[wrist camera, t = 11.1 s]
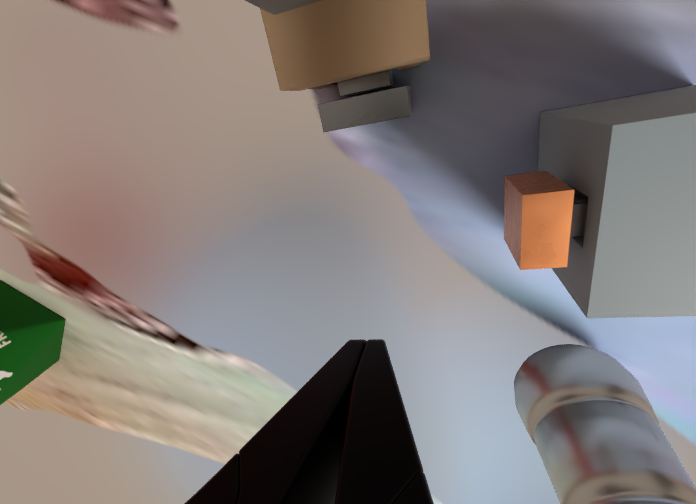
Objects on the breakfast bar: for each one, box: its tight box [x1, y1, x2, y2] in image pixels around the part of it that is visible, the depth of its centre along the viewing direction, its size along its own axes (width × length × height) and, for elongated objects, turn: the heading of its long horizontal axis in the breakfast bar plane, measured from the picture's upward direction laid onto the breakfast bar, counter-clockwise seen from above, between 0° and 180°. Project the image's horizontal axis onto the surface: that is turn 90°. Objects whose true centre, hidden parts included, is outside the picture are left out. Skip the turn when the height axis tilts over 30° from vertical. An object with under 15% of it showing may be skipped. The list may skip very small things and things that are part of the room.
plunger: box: [504, 171, 589, 270], centre depth 12 cm, size 7×3×3 cm, turn 102°
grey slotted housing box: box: [537, 85, 696, 318], centre depth 13 cm, size 6×7×7 cm
